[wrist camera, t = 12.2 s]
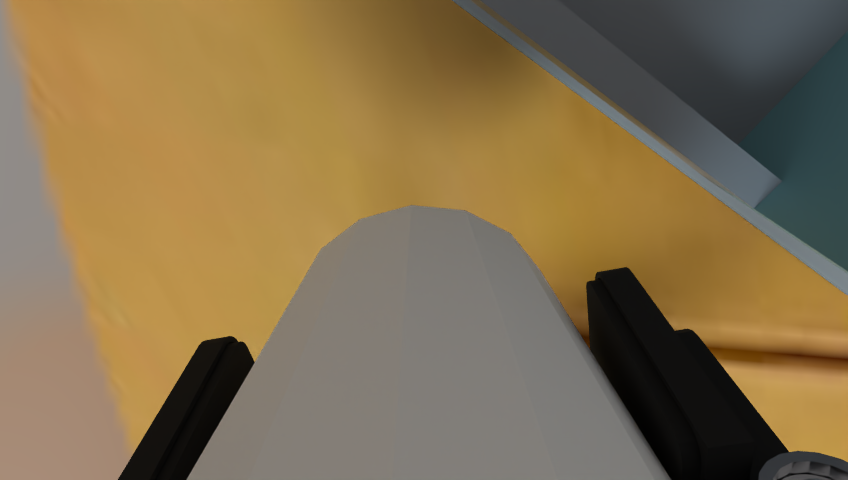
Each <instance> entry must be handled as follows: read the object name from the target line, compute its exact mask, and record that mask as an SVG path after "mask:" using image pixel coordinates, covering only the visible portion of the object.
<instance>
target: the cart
mask: <svg viewBox="0 0 848 480" xmlns="http://www.w3.org/2000/svg"><path fill="white" fill-rule="evenodd" d="M471 1H472V2H473V3H475V4H476V5H477V6H479V7H480V8H481V9H483V10H484V11H485V12H487V13H488V14H489V15H491V16H492V17H493V18H495V19H496V20H497V21H498V22H500V23H501V24H502V25H504V26H505V27H506V28H508V29H509V30H510V31H512V32H513V33H514V34H516V35H517V36H518V37H520V38H521V39H522V40H524V41H525V42H526V43H528V44H529V45H530V46H532V47H533V48H534V49H536V50H537V51H538V52H539V53H541V54H542V55H543V56H545V57H546V58H547V59H549V60H550V61H551V62H553V63H554V64H555V65H557V66H558V67H559V68H561V69H562V70H563V71H565V72H566V73H567V74H569V75H570V76H571V77H573V78H574V79H575V80H577V81H578V82H579V83H580V84H582V85H583V86H584V87H586V88H587V89H588V90H590V91H591V92H592V93H594V94H595V95H596V96H598V97H599V98H600V99H602V100H603V101H604V102H606V103H607V104H608V105H610V106H611V107H612V108H614V109H615V110H616V111H617V112H619V113H620V114H621V115H623V116H624V117H625V118H627V119H628V120H629V121H631V122H632V123H633V124H635V125H636V126H637V127H639V128H640V129H641V130H643V131H644V132H645V133H647V134H648V135H649V136H651V137H652V138H653V139H655V140H656V141H657V142H658V143H660V144H661V145H662V146H664V147H665V148H666V149H668V150H669V151H670V152H672V153H673V154H674V155H676V156H677V157H678V158H680V159H681V160H682V161H684V162H685V163H686V164H688V165H689V166H690V167H692V168H693V169H694V170H696V171H697V172H698V173H699V174H701V175H702V176H703V177H705V178H706V179H708V180H709V181H711V182H712V183H713V184H715V185H716V186H718V187H719V188H721V189H722V190H724V191H725V192H727V193H728V194H730V195H731V196H733V197H734V198H736V199H737V200H739V201H740V202H742V203H743V204H745V205H746V206H748V207H749V208H751V209H752V210H754V211H755V212H757V213H758V214H760V215H761V216H762V217H764V218H765V219H767V220H768V221H770V222H771V223H773V224H774V225H776V226H777V227H779V228H780V229H782V230H783V231H785V232H786V233H788V234H789V235H791V236H792V237H794V238H795V239H797V240H798V241H800V242H801V243H803V244H804V245H806V246H807V247H809V248H810V249H811V250H813V251H814V252H816V253H817V254H819V255H820V256H822V257H823V258H825V259H826V260H828V261H829V262H831V263H832V264H834V265H835V266H837V267H838V268H840V269H841V270H843V271H844V272H846V273H847V274H848V0H471Z"/></svg>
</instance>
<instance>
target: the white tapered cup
mask: <svg viewBox="0 0 848 480" xmlns="http://www.w3.org/2000/svg"><path fill="white" fill-rule="evenodd" d="M187 480H671V479H670V477H669V475H668V474H667V472H666V471H665V469H664V467H663V466H662V464H661V463H660V461H659V459H658V458H657V456H656V455H655V453H654V451H653V450H652V448H651V447H650V445H649V443H648V442H647V440H646V439H645V437H644V435H643V434H642V432H641V431H640V429H639V427H638V426H637V424H636V423H635V421H634V419H633V418H632V416H631V415H630V413H629V411H628V410H627V408H626V407H625V405H624V403H623V402H622V400H621V399H620V397H619V395H618V394H617V392H616V391H615V389H614V388H613V386H612V384H611V383H610V381H609V380H608V378H607V376H606V375H605V373H604V372H603V370H602V368H601V367H600V365H599V364H598V362H597V360H596V359H595V357H594V356H593V354H592V352H591V351H590V349H589V348H588V346H587V344H586V343H585V341H584V340H583V338H582V336H581V335H580V333H579V332H578V330H577V328H576V327H575V325H574V324H573V322H572V320H571V319H570V317H569V316H568V314H567V312H566V311H565V309H564V308H563V306H562V304H561V303H560V301H559V300H558V298H557V296H556V295H555V293H554V292H553V290H552V288H551V287H550V285H549V284H548V282H547V280H546V279H545V277H544V276H543V274H542V272H541V271H540V269H539V268H538V267H537V265H536V264H535V263H534V262H533V261H532V259H531V258H530V257H529V256H528V254H527V253H526V252H525V251H524V249H523V248H522V247H521V246H520V244H519V243H518V242H517V241H516V239H515V238H514V237H513V236H512V235H511V234H510V233H509V232H507V231H505V230H503V229H501V228H499V227H497V226H495V225H493V224H491V223H489V222H487V221H485V220H483V219H481V218H479V217H477V216H475V215H473V214H471V213H469V212H467V211H465V210H455V209H445V208H435V207H424V206H414V205H410V206H407V207H403V208H399V209H396V210H392V211H388V212H385V213H381V214H377V215H374V216H370V217H366V218H363V219H360V220H358V221H357V222H356V223H354V224H353V225H352V226H350V227H349V228H348V229H346V230H345V231H344V232H343V233H341V234H340V235H339V236H337V237H336V238H335V239H333V240H332V241H331V242H329V243H328V244H327V245H326V246H324V247H323V248H322V249H321V250H320V252H319V253H318V255H317V257H316V258H315V260H314V262H313V264H312V265H311V267H310V269H309V270H308V272H307V274H306V276H305V277H304V279H303V281H302V282H301V284H300V286H299V288H298V289H297V291H296V293H295V294H294V296H293V298H292V300H291V301H290V303H289V305H288V306H287V308H286V310H285V312H284V313H283V315H282V317H281V318H280V320H279V322H278V324H277V325H276V327H275V329H274V331H273V332H272V334H271V336H270V337H269V339H268V341H267V343H266V344H265V346H264V348H263V349H262V351H261V353H260V355H259V356H258V358H257V360H256V361H255V363H254V365H253V367H252V368H251V370H250V372H249V373H248V375H247V377H246V379H245V380H244V382H243V384H242V385H241V387H240V389H239V391H238V392H237V394H236V396H235V397H234V399H233V401H232V403H231V404H230V406H229V408H228V409H227V411H226V413H225V415H224V416H223V418H222V420H221V421H220V423H219V425H218V427H217V428H216V430H215V432H214V433H213V435H212V437H211V439H210V440H209V442H208V444H207V445H206V447H205V449H204V451H203V452H202V454H201V456H200V457H199V459H198V461H197V463H196V464H195V466H194V468H193V469H192V471H191V473H190V475H189V476H188V478H187Z"/></svg>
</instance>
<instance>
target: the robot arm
mask: <svg viewBox="0 0 848 480" xmlns="http://www.w3.org/2000/svg"><path fill="white" fill-rule="evenodd" d="M586 290H587V305H588V321H589V337H590V351H591V352H592V354H593V356H594V357H595V359H596V360H597V362H598V364H599V365H600V367H601V368H602V370H603V372H604V373H605V375H606V376H607V378H608V380H609V381H610V383H611V384H612V386H613V388H614V389H615V391H616V392H617V394H618V395H619V397H620V399H621V400H622V402H623V403H624V405H625V407H626V408H627V410H628V411H629V413H630V415H631V416H632V418H633V419H634V421H635V423H636V424H637V426H638V427H639V429H640V431H641V432H642V434H643V435H644V437H645V439H646V440H647V442H648V443H649V445H650V447H651V448H652V450H653V451H654V453H655V455H656V456H657V458H658V459H659V461H660V463H661V464H662V466H663V467H664V469H665V471H666V472H667V474H668V475H669V477H670V479H671V480H848V462H846V461H844V460H841V459H839V458H835V457H832V456H828V455H824V454H821V453H815V452H803V451H795V452H789V451H788V450H787V449H786V447H785V446H784V445H783V444H782V442H781V441H780V440H779V438H778V437H777V436H776V435H775V433H774V432H773V431H772V430H771V428H770V427H769V426H768V424H767V423H766V422H765V421H764V419H763V418H762V417H761V416H760V414H759V413H758V412H757V410H756V409H755V408H754V407H753V405H752V404H751V403H750V401H749V400H748V399H747V398H746V396H745V395H744V394H743V393H742V391H741V390H740V389H739V387H738V386H737V385H736V384H735V382H734V381H733V380H732V378H731V377H730V376H729V375H728V373H727V372H726V371H725V370H724V368H723V367H722V366H721V364H720V363H719V362H718V361H717V359H716V358H715V357H714V356H713V354H712V353H711V352H710V350H709V349H708V348H707V347H706V345H705V344H704V343H703V341H702V340H701V339H700V338H699V336H698V335H697V334H696V333H695V332H694V331H692V330H690V329H683V330H676V331H674V329H673V328H672V327H671V325H670V324H669V322H668V321H667V320H666V318H665V317H664V316H663V314H662V313H661V311H660V310H659V309H658V307H657V306H656V305H655V303H654V302H653V300H652V299H651V298H650V296H649V295H648V294H647V292H646V291H645V289H644V288H643V287H642V285H641V284H640V283H639V281H638V280H637V278H636V277H635V276H634V274H633V273H632V272H631V270H630V269H629V268H627V267H625V268H619V269H613V270H607V271H602V272H597V273H596V276H595V280H594V281H588V282H587V285H586ZM254 363H255V362H254V360H253V358H252V356H251V354H250V352H249V349H248V347H247V346H246V344H245V343H244V342H238V341H237V339H235V338H234V337H232V336H228V337H223V338H217V339H211V340H205V341H203V342H202V343H201V344H200V345H199V346H198V348H197V350H196V351H195V353H194V355H193V356H192V358H191V360H190V361H189V363H188V365H187V366H186V368H185V370H184V371H183V373H182V374H181V376H180V378H179V379H178V381H177V383H176V384H175V386H174V388H173V389H172V391H171V393H170V394H169V396H168V398H167V399H166V401H165V403H164V404H163V406H162V408H161V409H160V411H159V413H158V414H157V416H156V417H155V419H154V421H153V422H152V424H151V426H150V427H149V429H148V431H147V432H146V434H145V436H144V437H143V439H142V441H141V442H140V444H139V446H138V447H137V449H136V451H135V452H134V454H133V456H132V457H131V459H130V460H129V462H128V464H127V465H126V467H125V469H124V470H123V472H122V474H121V475H120V477H119V479H118V480H187V478H188V476H189V475H190V473H191V471H192V469H193V468H194V466H195V464H196V463H197V461H198V459H199V457H200V456H201V454H202V452H203V451H204V449H205V447H206V445H207V444H208V442H209V440H210V439H211V437H212V435H213V433H214V432H215V430H216V428H217V427H218V425H219V423H220V421H221V420H222V418H223V416H224V415H225V413H226V411H227V409H228V408H229V406H230V404H231V403H232V401H233V399H234V397H235V396H236V394H237V392H238V391H239V389H240V387H241V385H242V384H243V382H244V380H245V379H246V377H247V375H248V373H249V372H250V370H251V368H252V367H253V365H254Z"/></svg>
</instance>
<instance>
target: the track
mask: <svg viewBox="0 0 848 480" xmlns="http://www.w3.org/2000/svg"><path fill="white" fill-rule="evenodd" d="M452 1H454V2H455V3H456V4H458V5H459V6H460V7H462V8H463V9H464V10H466V11H467V12H468V13H470V14H471V15H472V16H474V17H475V18H476V19H478V20H479V21H480V22H482V23H483V24H484V25H486V26H487V27H488V28H490V29H491V30H492V31H494V32H495V33H496V34H498V35H499V36H501V37H502V38H503V39H505V40H506V41H507V42H509V43H510V44H511V45H513V46H514V47H515V48H517V49H518V50H519V51H521V52H522V53H523V54H525V55H526V56H527V57H529V58H530V59H531V60H533V61H534V62H535V63H537V64H538V65H539V66H541V67H542V68H543V69H545V70H546V71H547V72H549V73H550V74H551V75H553V76H554V77H555V78H557V79H558V80H559V81H561V82H562V83H564V84H565V85H566V86H568V87H569V88H570V89H572V90H573V91H574V92H576V93H577V94H578V95H580V96H581V97H582V98H584V99H585V100H586V101H588V102H589V103H590V104H592V105H593V106H594V107H596V108H597V109H598V110H600V111H601V112H602V113H604V114H605V115H606V116H608V117H609V118H610V119H612V120H613V121H614V122H616V123H617V124H618V125H620V126H621V127H622V128H624V129H625V130H627V131H628V132H629V133H631V134H632V135H633V136H635V137H636V138H637V139H639V140H640V141H641V142H643V143H644V144H645V145H647V146H648V147H649V148H651V149H652V150H653V151H655V152H656V153H657V154H659V155H660V156H661V157H663V158H664V159H665V160H667V161H668V162H669V163H671V164H672V165H673V166H675V167H676V168H677V169H679V170H680V171H681V172H683V173H684V174H685V175H687V176H688V177H689V178H691V179H692V180H694V181H695V182H696V183H698V184H699V185H700V186H702V187H703V188H704V189H706V190H707V191H708V192H710V193H711V194H712V195H714V196H715V197H716V198H718V199H719V200H720V201H722V202H723V203H724V204H726V205H727V206H728V207H730V208H731V209H732V210H734V211H735V212H736V213H738V214H739V215H740V216H742V217H743V218H744V219H746V220H747V221H748V222H750V223H751V224H752V225H754V226H755V227H757V228H758V229H759V230H761V231H762V232H763V233H765V234H766V235H767V236H769V237H770V238H771V239H773V240H774V241H775V242H777V243H778V244H779V245H781V246H782V247H783V248H785V249H786V250H787V251H789V252H790V253H791V254H793V255H794V256H795V257H797V258H798V259H799V260H801V261H802V262H803V263H805V264H806V265H807V266H809V267H810V268H811V269H813V270H814V271H815V272H817V273H818V274H819V275H821V276H822V277H824V278H825V279H826V280H828V281H829V282H830V283H832V284H833V285H834V286H836V287H837V288H838V289H840V290H841V291H842V292H844V293H845V294H846V295H848V274H847V273H846V272H844V271H843V270H841V269H840V268H838V267H837V266H835V265H834V264H832V263H831V262H829V261H828V260H826V259H825V258H823V257H822V256H820V255H819V254H817V253H816V252H814V251H813V250H811V249H810V248H809V247H807V246H806V245H804V244H803V243H801V242H800V241H798V240H797V239H795V238H794V237H792V236H791V235H789V234H788V233H786V232H785V231H783V230H782V229H780V228H779V227H777V226H776V225H774V224H773V223H771V222H770V221H768V220H767V219H765V218H764V217H762V216H761V215H760V214H758V213H757V212H755V211H754V210H752V209H751V208H749V207H748V206H746V205H745V204H743V203H742V202H740V201H739V200H737V199H736V198H734V197H733V196H731V195H730V194H728V193H727V192H725V191H724V190H722V189H721V188H719V187H718V186H716V185H715V184H713V183H712V182H711V181H709V180H708V179H706V178H705V177H703V176H702V175H701V174H699V173H698V172H697V171H696V170H694V169H693V168H692V167H690V166H689V165H688V164H686V163H685V162H684V161H682V160H681V159H680V158H678V157H677V156H676V155H674V154H673V153H672V152H670V151H669V150H668V149H666V148H665V147H664V146H662V145H661V144H660V143H658V142H657V141H656V140H655V139H653V138H652V137H651V136H649V135H648V134H647V133H645V132H644V131H643V130H641V129H640V128H639V127H637V126H636V125H635V124H633V123H632V122H631V121H629V120H628V119H627V118H625V117H624V116H623V115H621V114H620V113H619V112H617V111H616V110H615V109H614V108H612V107H611V106H610V105H608V104H607V103H606V102H604V101H603V100H602V99H600V98H599V97H598V96H596V95H595V94H594V93H592V92H591V91H590V90H588V89H587V88H586V87H584V86H583V85H582V84H580V83H579V82H578V81H577V80H575V79H574V78H573V77H571V76H570V75H569V74H567V73H566V72H565V71H563V70H562V69H561V68H559V67H558V66H557V65H555V64H554V63H553V62H551V61H550V60H549V59H547V58H546V57H545V56H543V55H542V54H541V53H539V52H538V51H537V50H536V49H534V48H533V47H532V46H530V45H529V44H528V43H526V42H525V41H524V40H522V39H521V38H520V37H518V36H517V35H516V34H514V33H513V32H512V31H510V30H509V29H508V28H506V27H505V26H504V25H502V24H501V23H500V22H498V21H497V20H496V19H495V18H493V17H492V16H491V15H489V14H488V13H487V12H485V11H484V10H483V9H481V8H480V7H479V6H477V5H476V4H475V3H473V2H472V1H471V0H452Z"/></svg>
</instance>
